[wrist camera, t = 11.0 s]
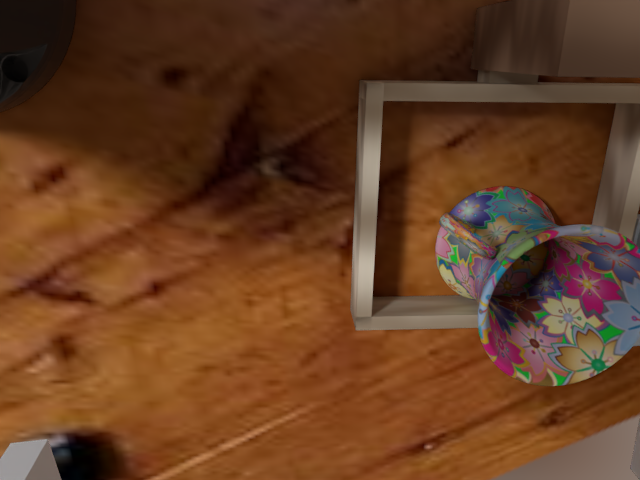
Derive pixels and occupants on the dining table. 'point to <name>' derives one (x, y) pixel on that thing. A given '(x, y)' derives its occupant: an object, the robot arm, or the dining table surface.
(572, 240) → the mug
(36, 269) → the dining table surface
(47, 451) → the robot arm
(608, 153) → the open square frame
